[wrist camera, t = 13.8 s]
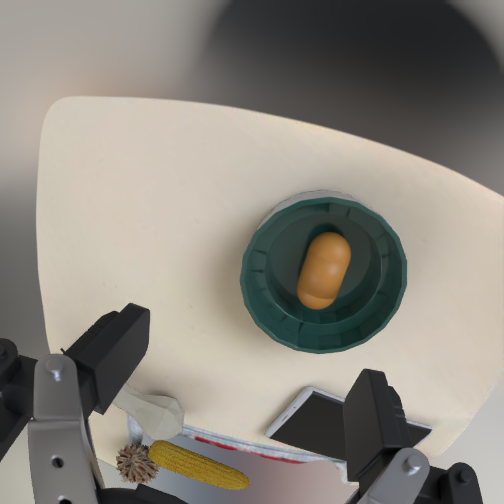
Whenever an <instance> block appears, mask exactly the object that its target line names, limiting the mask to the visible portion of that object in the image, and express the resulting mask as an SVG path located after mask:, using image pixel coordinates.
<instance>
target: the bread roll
mask: <svg viewBox="0 0 504 504" xmlns="http://www.w3.org/2000/svg"><path fill="white" fill-rule="evenodd" d="M350 259H351V249H350V246H349V244H348V242H347V240H346V239H345V238H344V237H343V236H341V235H339V234H337V233H334V232H325V233H322V234H320V235H318V236H317V237H315V238H314V239H313V241H312V242H311V244H310V246H309V249H308V252H307V255H306V258H305V261H304V264H303V267H302V270H301V274H300V277H299V280H298V283H297V295H298V297H299V300H300V301H301V302H302V303H303V304H304V305H305V306H306V307H308V308H311V309H316V310H318V309H323V308H326V307H328V306H329V305H330V304H332V303H333V301H334V300H335V298H336V296H337V294H338V291H339V289H340V286H341V284H342V281H343V278H344V276H345V273H346V270H347V268H348V265H349V262H350Z"/></svg>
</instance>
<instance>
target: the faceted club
mask: <svg viewBox="0 0 504 504" xmlns="http://www.w3.org/2000/svg"><path fill="white" fill-rule="evenodd" d="M60 350H61V351H62V352H63V353H65V351H64V350H63V349H62V348H61V349H60ZM112 403H113V404H114V405H115V406H117V407H118V408H120V409H124V410H125V411H126V412H127V413H128V414H130V415H131V416H132V417H133V418H134V419H135V420H136V421H137V422H138V424H139V425H140V427H141V429H142V430H143V432H144V433H145V434H146V435H147V436H148V437H149V438H150V439H151V440H169V439H170V438H172V437H174V436H175V435H177V434H179V433H180V432H182V431H183V422H184V411H183V410H182V408H181V406H180V405H179V403H178V401H177V400H176V399H174V398H170V397H167V396H155V395H145V394H143V393H141V392H140V391H138V390H137V389H135V388H133V387H132V386H130V385H129V384H127V383H125V384H124V386H123V387H122V388H121V390H120V391H119V393H118V394H117V396H116V397H115V399H114V400H113V401H112Z"/></svg>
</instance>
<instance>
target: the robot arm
mask: <svg viewBox="0 0 504 504" xmlns="http://www.w3.org/2000/svg"><path fill="white" fill-rule="evenodd" d="M149 327H150V310H149V309H147V308H144V307H141V306H138V305H136V304H133V303H129V304H128V305H127V306H126V307H125V308H124V309H123V310H122V311H121V312H120V313H119V312H117V311H112V312H110V313H108V314H105V315H103V316H102V317H101V318H100V319H98V320H97V321H96V322H95V323H94V325H92V326H91V327H90V328H89V329H88V331H86V332H85V333H84V334H83V335H82V336H81V337H80V338H79V339H78V340H77V341H76V342H75V343H74V344H73V345H72V346H71V347H70V348H69V349H68V350H67V351H66V352H65V353H63V354H48V355H46V356H44V357H42V358H41V359H40V360H36V359H32V358H28V357H25V356H22V355H19V354H18V351H17V347H16V345H15V344H14V343H13V342H12V341H10V340H8V339H3V338H0V462H1V460H2V459H3V457H4V456H5V454H6V453H7V451H8V450H9V448H10V447H11V445H12V444H13V443H14V441H15V440H16V438H17V437H18V435H19V434H20V433H21V431H22V430H23V428H24V427H25V426H26V424H27V423H28V446H29V460H30V470H31V479H32V486H33V493H34V499H35V504H188V503H186V502H184V501H183V500H181V499H179V498H177V497H176V496H173V495H170V494H167V493H164V492H162V491H159V490H156V489H154V488H151V487H148V486H146V485H143V484H141V483H139V484H138V486H137V488H136V490H134V489H128V488H105V485H104V482H103V479H102V475H101V472H100V469H99V466H98V462H97V458H96V454H95V449H94V445H93V440H92V435H91V429H90V424H89V419H88V417H89V416H90V414H91V413H92V411H93V410H94V411H96V412H98V413H100V414H102V415H104V413H105V412H106V410H107V409H108V407H109V406H110V404H111V403H112V401H113V400H114V399H115V397H116V396H117V394H118V393H119V391H120V390H121V388H122V387H123V386H124V384H125V383H126V381H127V380H128V378H129V377H130V375H131V374H132V373H133V371H134V370H135V368H136V367H137V366H138V364H139V363H140V361H141V360H142V358H143V357H144V355H145V353H146V351H147V348H148V344H149ZM31 417H33V420H30V419H31ZM343 418H344V430H345V443H346V459H347V479H348V481H350V482H359V488H358V489H357V490H356V491H355V492H354V493H353V494H352V495H351V497H350V498H349V499H348V500H347V501H346V502H345V504H483V501H482V496H481V492H480V488H479V484H478V480H477V476H476V473H475V471H474V470H473V469H472V467H470V466H469V465H468V464H466V463H461V462H459V463H455V464H454V465H452V467H450V468H449V469H448V470H444V469H440V468H436V467H433V466H430V465H429V461H428V459H427V457H426V456H425V455H424V454H423V453H422V452H420V451H419V450H417V449H414V448H413V444H412V440H411V436H410V432H409V429H408V425H407V421H406V418H405V414H404V410H403V409H402V403H401V400H400V396H399V395H398V394H397V392H396V391H395V390H394V388H393V387H392V386H388V383H387V380H386V376H385V373H384V372H382V371H376V370H371V369H363V370H362V372H361V373H360V375H359V376H358V378H357V380H356V382H355V383H354V385H353V386H352V388H351V390H350V391H349V393H348V395H347V396H346V398H345V401H344V405H343Z"/></svg>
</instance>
